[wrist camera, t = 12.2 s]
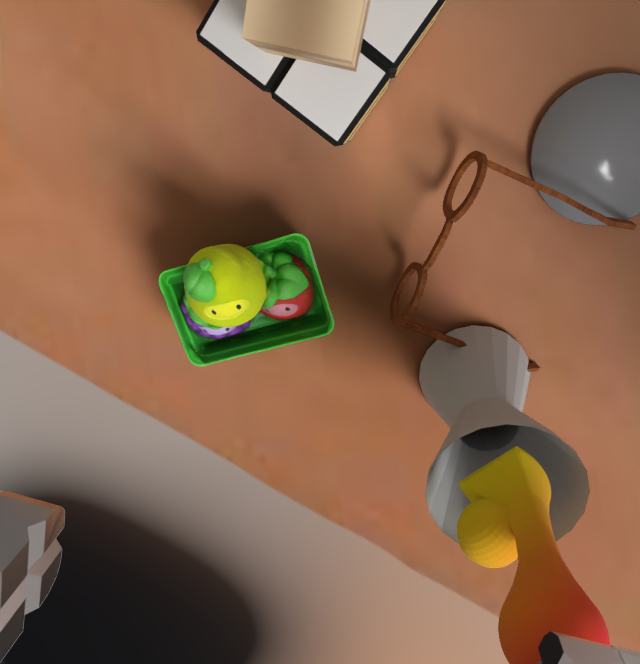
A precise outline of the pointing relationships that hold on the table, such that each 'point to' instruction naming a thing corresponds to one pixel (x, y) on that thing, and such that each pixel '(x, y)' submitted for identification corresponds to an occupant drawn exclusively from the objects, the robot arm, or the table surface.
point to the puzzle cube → (321, 80)
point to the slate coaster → (592, 148)
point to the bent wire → (450, 218)
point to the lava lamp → (507, 487)
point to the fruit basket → (247, 299)
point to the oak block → (308, 29)
